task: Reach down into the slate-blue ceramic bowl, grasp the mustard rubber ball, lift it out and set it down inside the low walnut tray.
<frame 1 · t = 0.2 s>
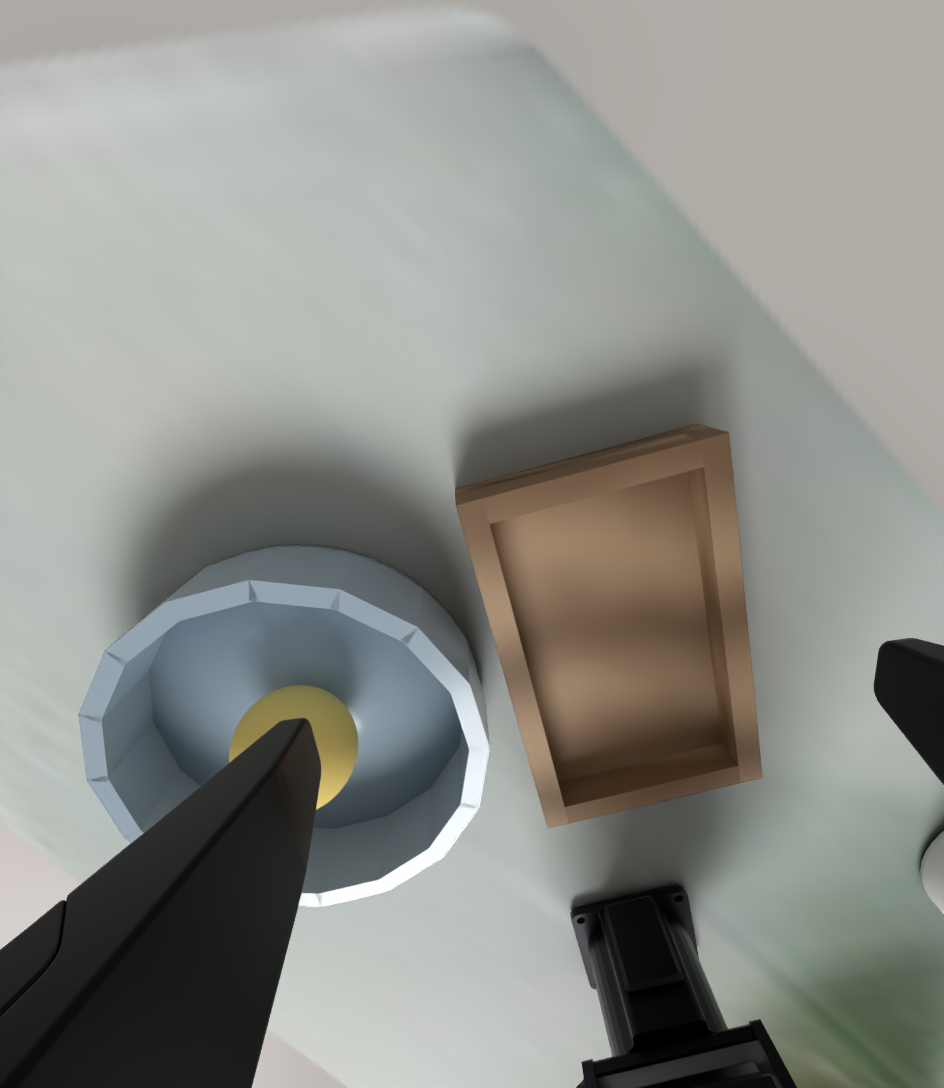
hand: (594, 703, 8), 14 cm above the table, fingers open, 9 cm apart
ball: (310, 710, 24), point 1 cm above the table, touching bowl
tray: (608, 627, 24), on the table
bowl: (314, 701, 25), on the table
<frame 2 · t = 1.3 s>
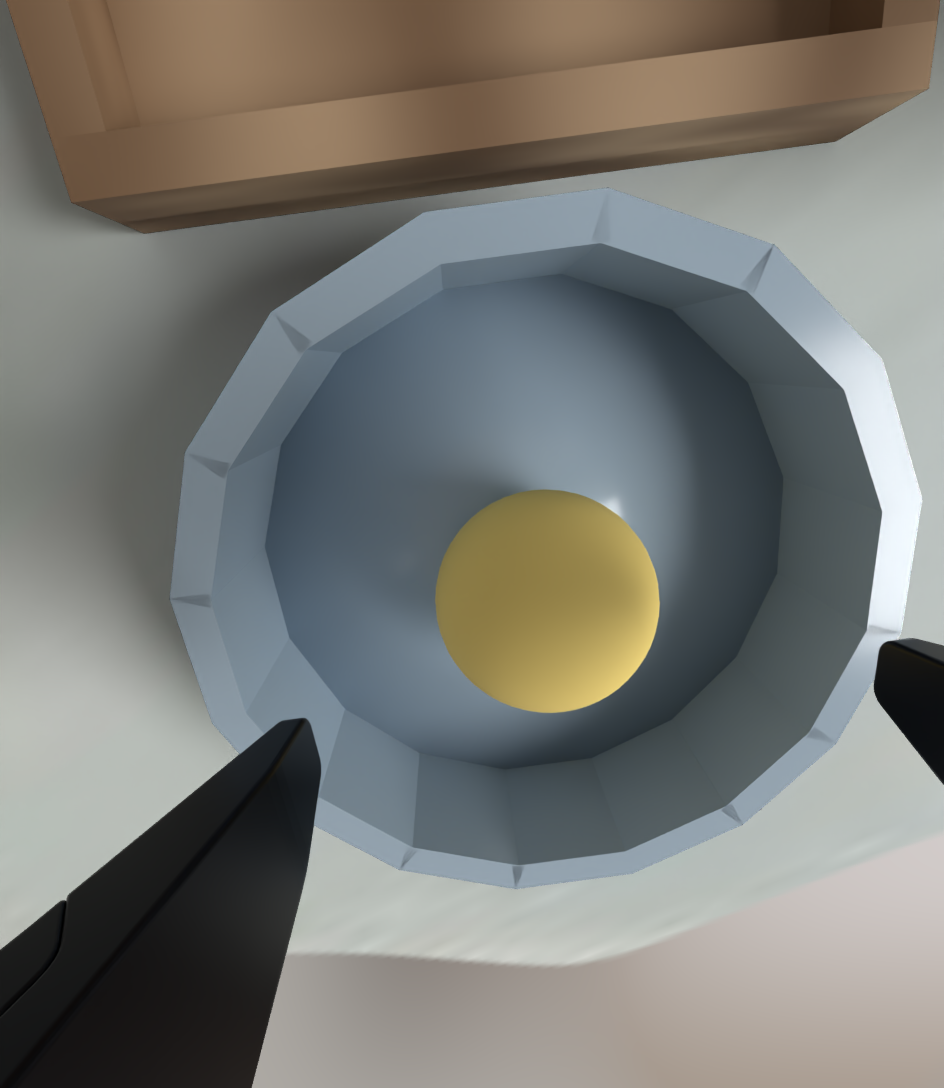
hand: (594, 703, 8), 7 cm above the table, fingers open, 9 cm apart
ball: (528, 560, 15), point 1 cm above the table, touching bowl
bowl: (525, 552, 15), on the table
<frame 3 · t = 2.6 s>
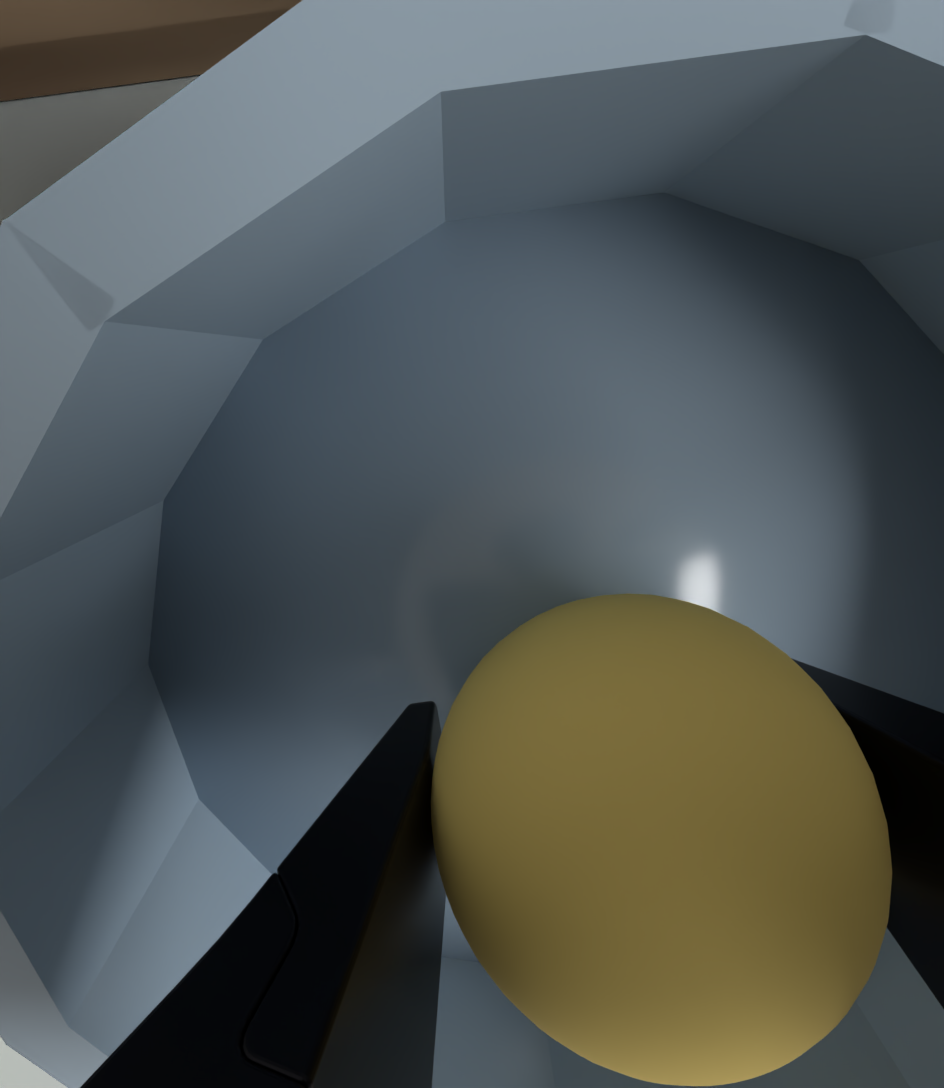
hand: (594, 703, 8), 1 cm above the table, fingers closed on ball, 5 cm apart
ball: (584, 681, 9), point 1 cm above the table, touching bowl, gripper
bowl: (576, 662, 9), on the table
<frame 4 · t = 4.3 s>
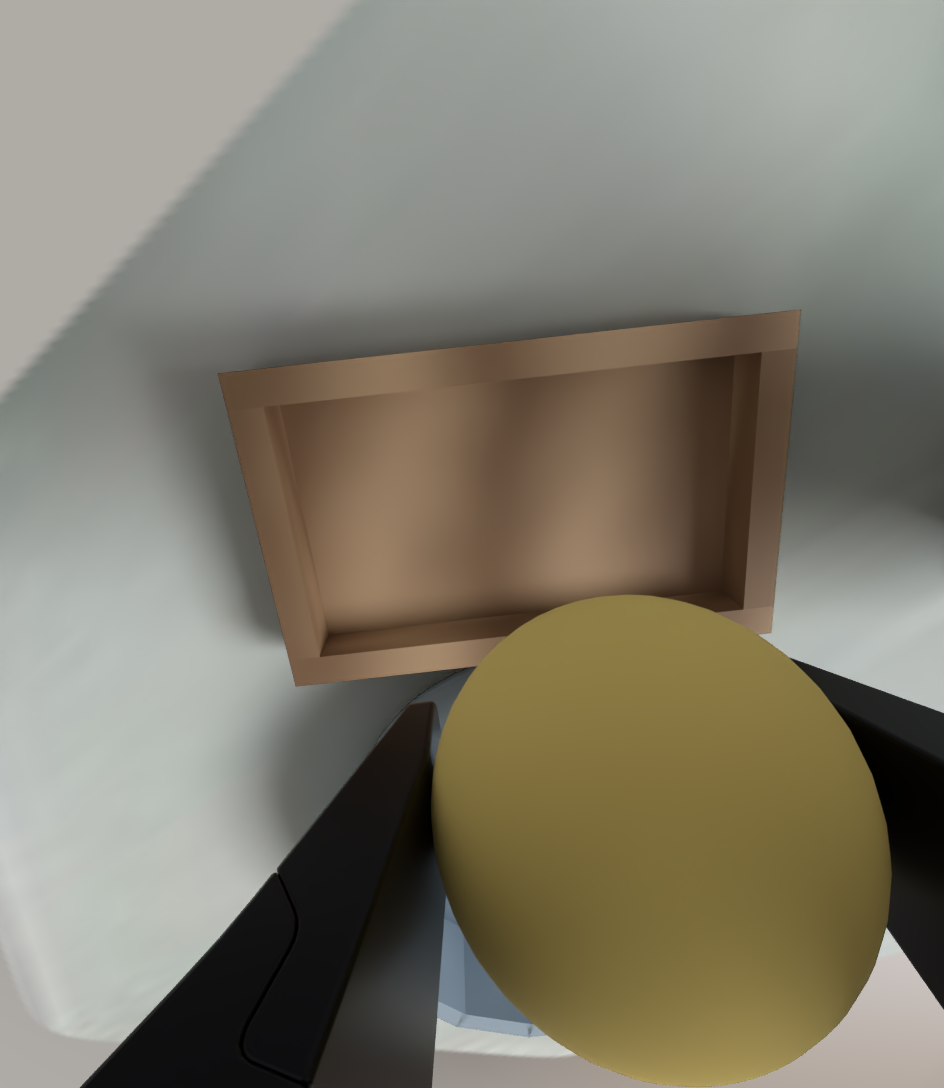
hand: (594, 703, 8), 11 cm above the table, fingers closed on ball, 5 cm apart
ball: (584, 682, 9), point 10 cm above the table, touching gripper
tray: (513, 496, 18), on the table
bowl: (538, 809, 23), on the table
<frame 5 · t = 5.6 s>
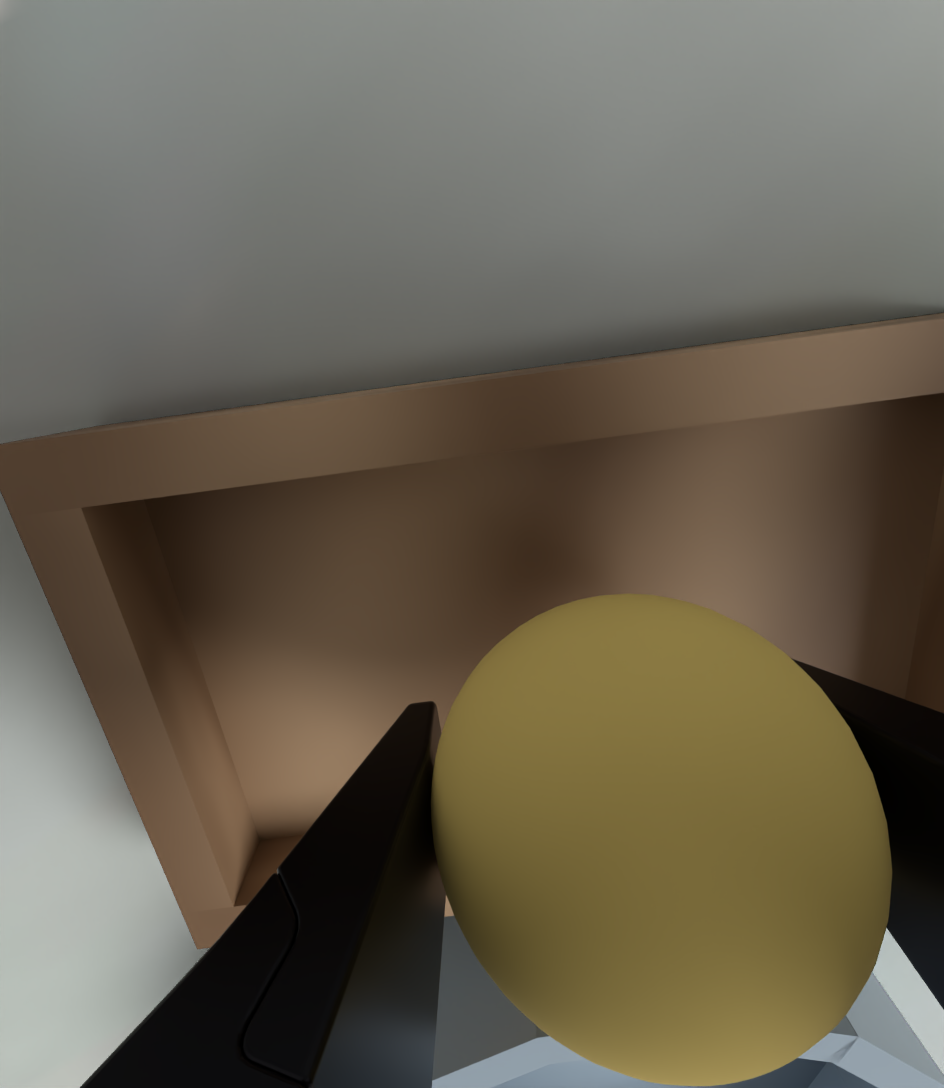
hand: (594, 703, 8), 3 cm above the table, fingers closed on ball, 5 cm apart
ball: (584, 681, 9), point 2 cm above the table, touching gripper
tray: (554, 614, 11), on the table
bowl: (589, 1034, 16), on the table
when the fingers open (3 cm above the table, at t = 6.3 s): ball drops 1 cm, resting on tray.
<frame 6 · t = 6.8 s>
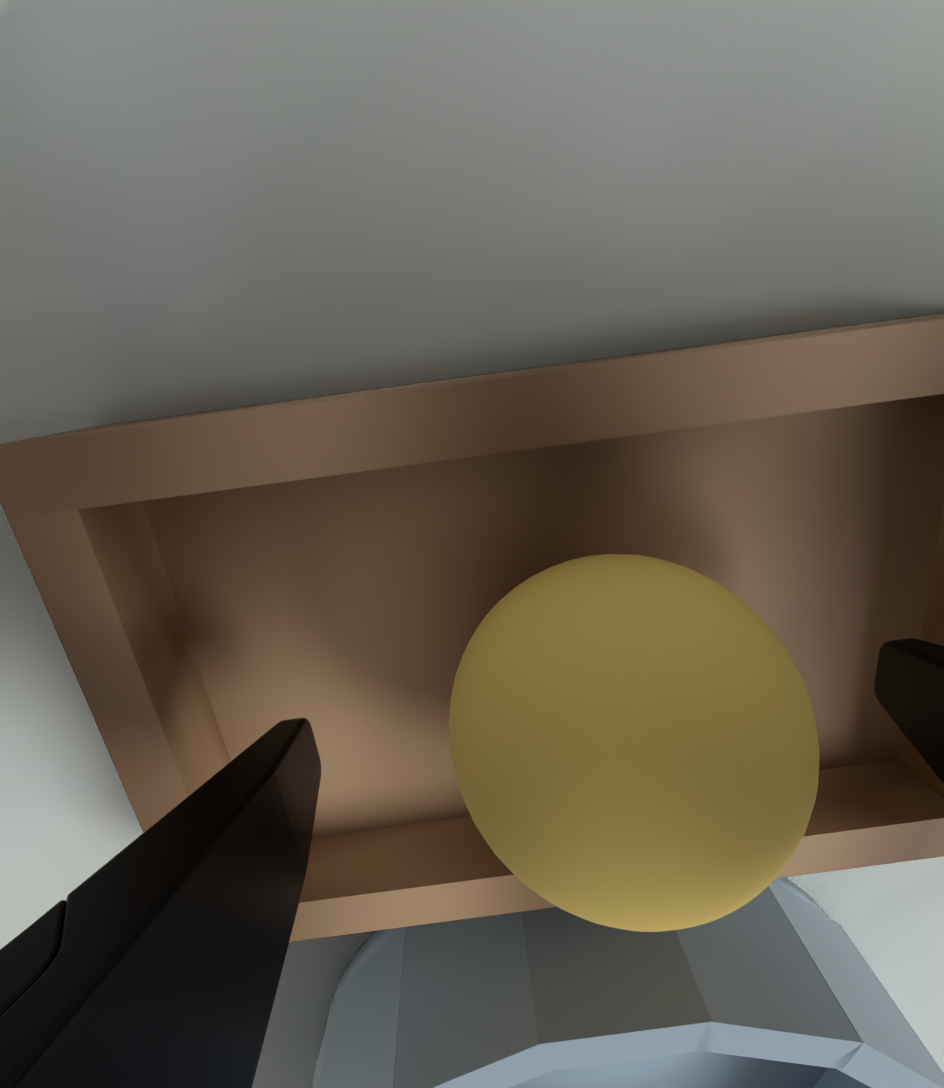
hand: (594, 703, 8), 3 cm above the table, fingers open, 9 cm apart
ball: (565, 641, 10), point 1 cm above the table, tilted 6°, touching tray
tray: (556, 616, 11), on the table
bowl: (591, 1037, 16), on the table
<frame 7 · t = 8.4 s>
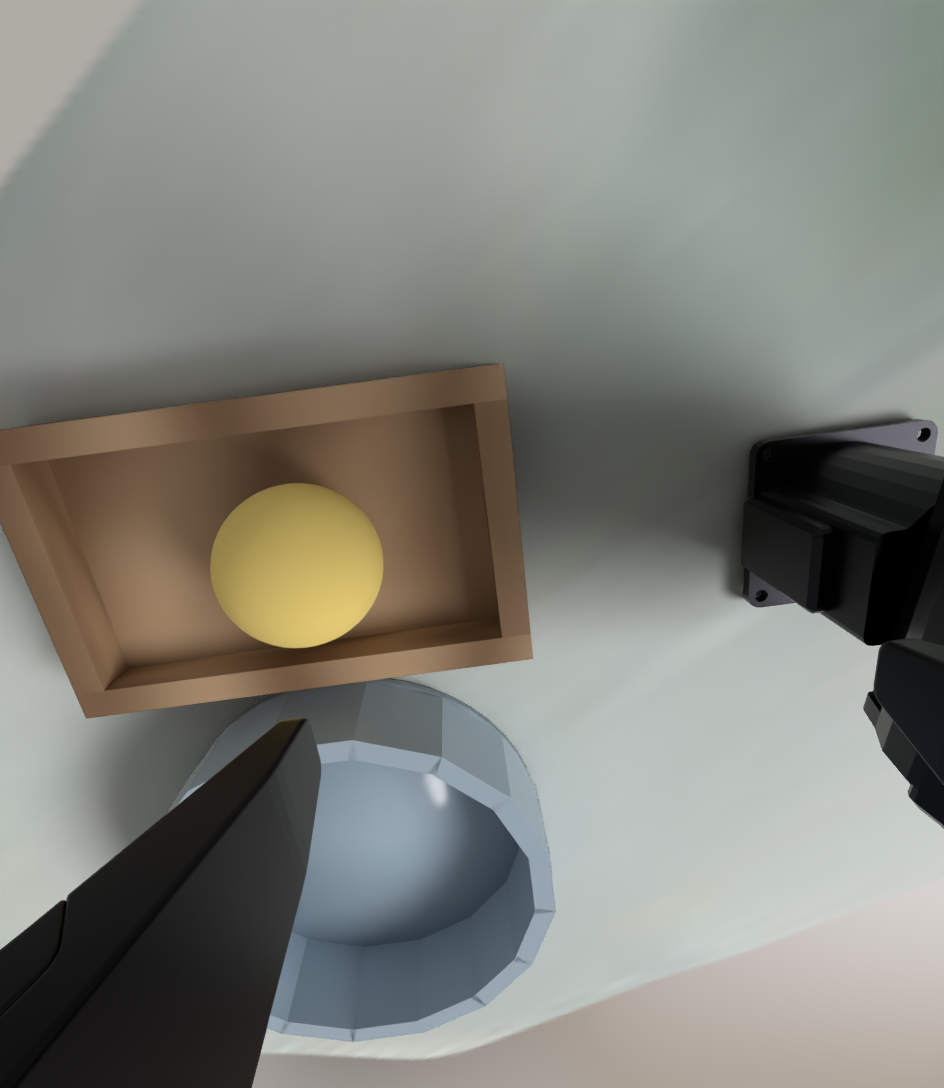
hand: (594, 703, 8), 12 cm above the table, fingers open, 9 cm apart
ball: (286, 545, 18), point 1 cm above the table, tilted 26°, touching tray
tray: (295, 534, 20), on the table
bowl: (367, 824, 24), on the table
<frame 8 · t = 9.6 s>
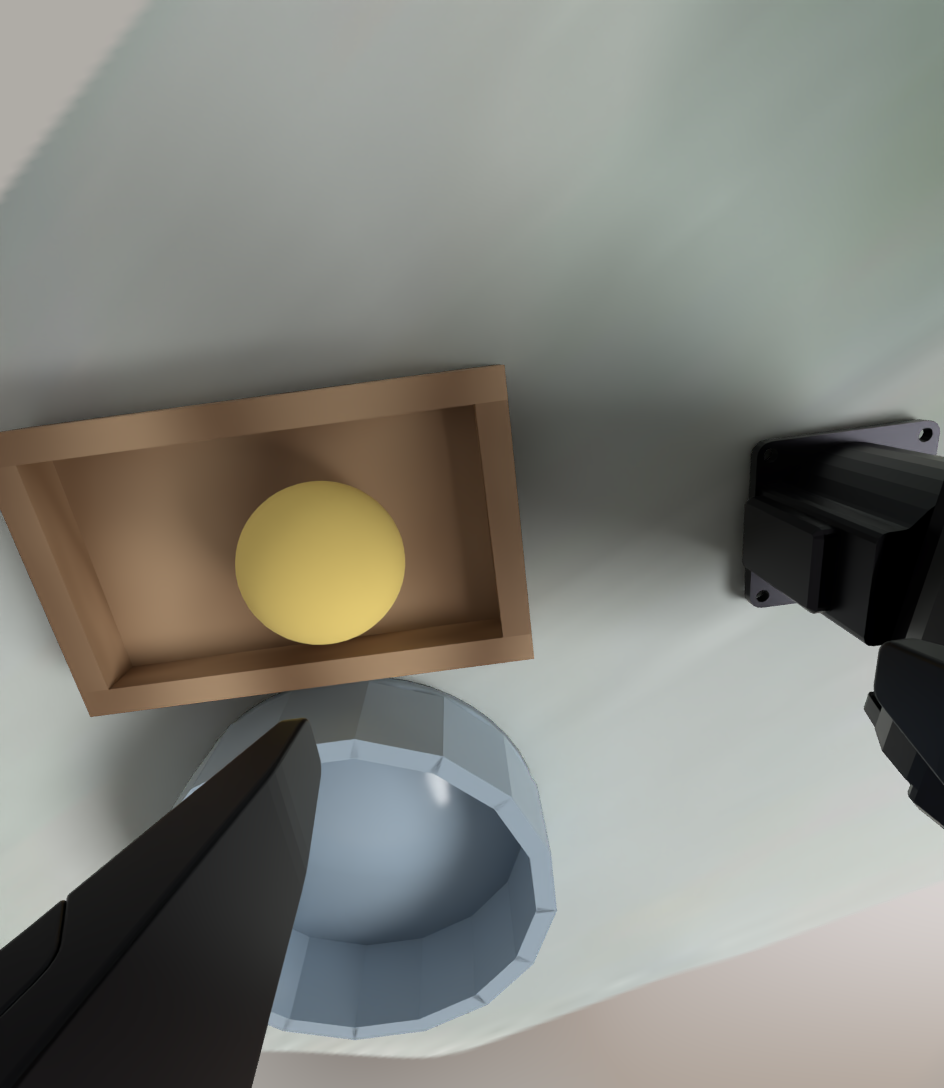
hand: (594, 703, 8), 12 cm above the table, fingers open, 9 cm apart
ball: (289, 548, 18), point 2 cm above the table, tilted 40°, touching tray
tray: (298, 534, 20), on the table
bowl: (369, 823, 24), on the table
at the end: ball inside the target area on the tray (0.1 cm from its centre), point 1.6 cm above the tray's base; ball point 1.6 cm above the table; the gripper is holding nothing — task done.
